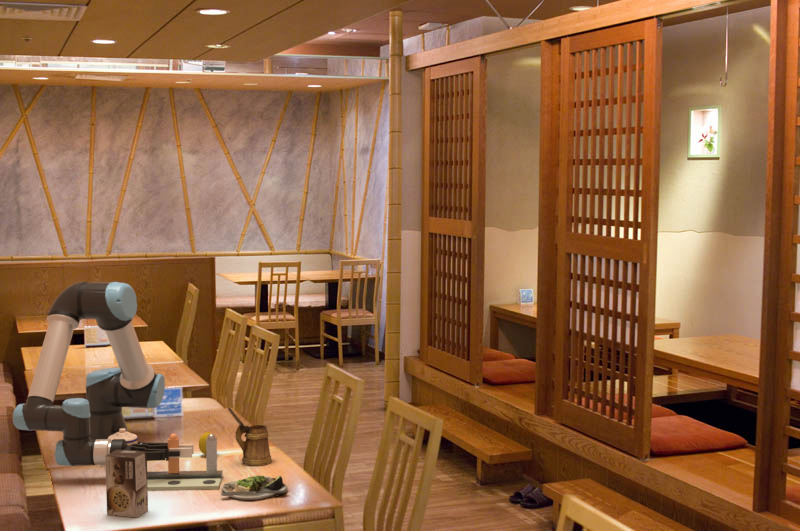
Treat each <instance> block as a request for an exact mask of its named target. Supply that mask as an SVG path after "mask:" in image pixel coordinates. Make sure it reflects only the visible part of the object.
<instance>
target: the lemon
mask: <svg viewBox="0 0 800 531" xmlns="http://www.w3.org/2000/svg"><path fill="white" fill-rule="evenodd" d="M209 434H213V433H212V432H209V431H205V432H204V433H202V434H201V435H200V437H199V440H198V447H199V448H198V449H199V451H200V452H201V453H202V454H203V455H205V456H206V440H207V437H208V435H209Z"/></svg>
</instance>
